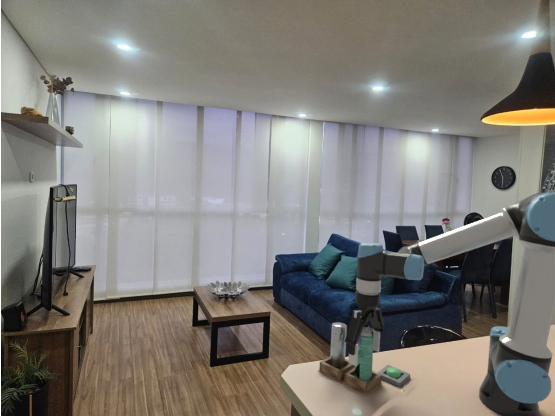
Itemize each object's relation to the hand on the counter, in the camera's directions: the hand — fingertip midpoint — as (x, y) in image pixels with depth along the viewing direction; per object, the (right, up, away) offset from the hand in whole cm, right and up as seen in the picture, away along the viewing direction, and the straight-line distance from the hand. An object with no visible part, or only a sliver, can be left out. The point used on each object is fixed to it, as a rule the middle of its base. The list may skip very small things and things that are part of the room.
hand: (364, 357), depth 113 cm
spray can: (0, -9, +1) cm, 9 cm away
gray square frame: (+11, -10, +5) cm, 16 cm away
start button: (+11, -10, +5) cm, 15 cm away
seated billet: (-7, -8, +7) cm, 13 cm away
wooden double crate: (-4, -10, +4) cm, 11 cm away
